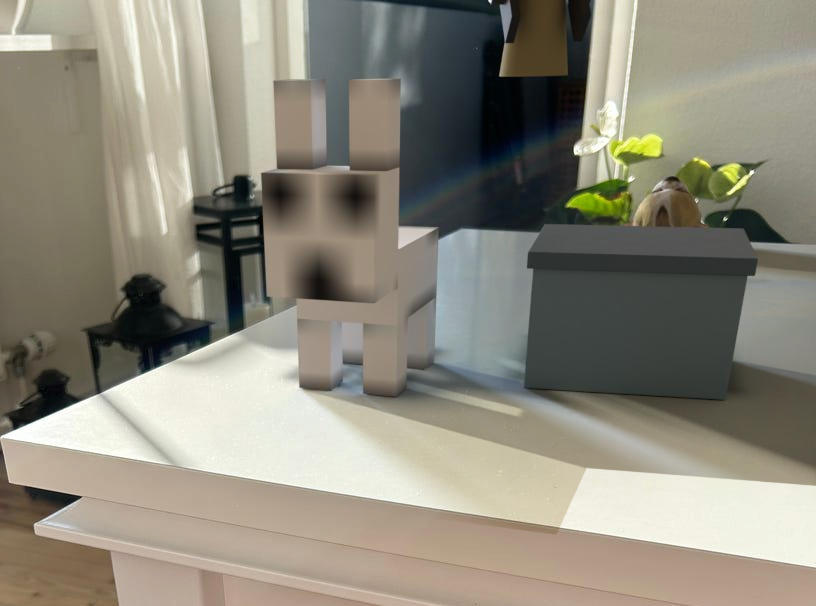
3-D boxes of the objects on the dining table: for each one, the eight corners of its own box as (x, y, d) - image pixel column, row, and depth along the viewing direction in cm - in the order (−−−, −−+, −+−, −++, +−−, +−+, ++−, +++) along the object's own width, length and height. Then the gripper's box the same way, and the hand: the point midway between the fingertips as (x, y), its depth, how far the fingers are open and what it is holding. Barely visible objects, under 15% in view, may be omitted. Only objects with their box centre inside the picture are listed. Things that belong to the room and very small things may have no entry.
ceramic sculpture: (722, 166, 120) (719, 189, 109) (711, 243, 125) (706, 273, 113) (629, 165, 124) (616, 188, 112) (622, 240, 128) (608, 270, 117)
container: (721, 355, 82) (744, 228, 77) (731, 402, 71) (758, 258, 66) (534, 345, 85) (544, 223, 80) (517, 389, 74) (527, 251, 70)
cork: (533, 76, 87) (544, -81, 81) (484, 76, 91) (491, -74, 86) (582, 74, 90) (595, -78, 84) (532, 74, 94) (542, -71, 89)
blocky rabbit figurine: (442, 353, 83) (453, 73, 73) (373, 417, 69) (374, 81, 59) (356, 346, 86) (354, 74, 76) (272, 407, 71) (256, 81, 61)
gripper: (601, -140, 96) (639, 62, 90) (409, -138, 95) (433, 67, 89) (627, -227, 88) (669, -13, 82) (419, -226, 87) (446, -8, 81)
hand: (547, 28), depth 86 cm, fingers closed on cork, 5 cm apart
